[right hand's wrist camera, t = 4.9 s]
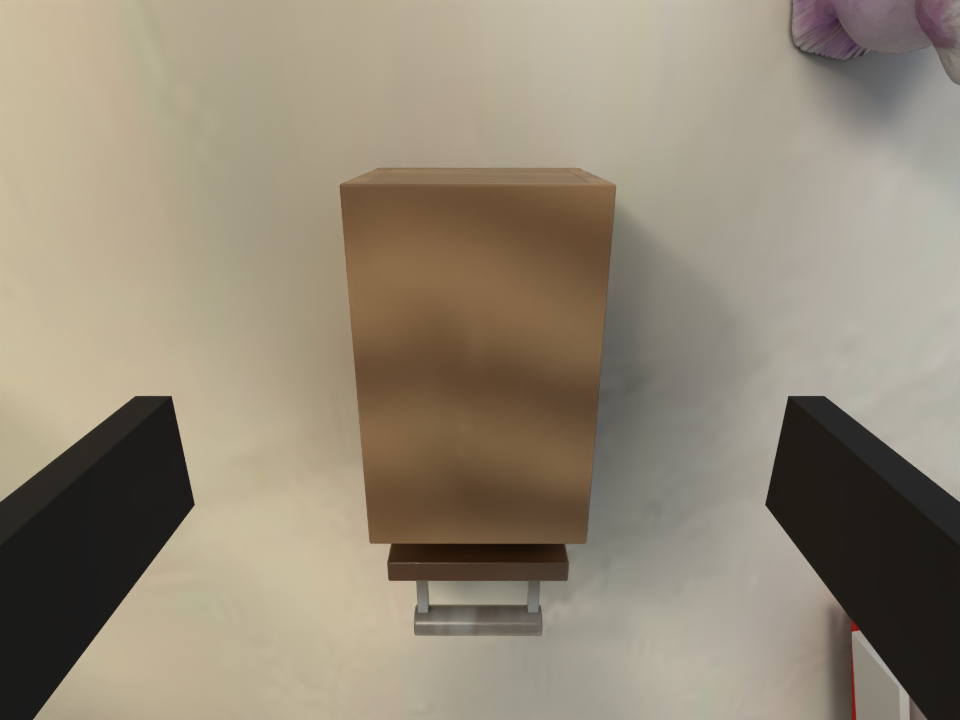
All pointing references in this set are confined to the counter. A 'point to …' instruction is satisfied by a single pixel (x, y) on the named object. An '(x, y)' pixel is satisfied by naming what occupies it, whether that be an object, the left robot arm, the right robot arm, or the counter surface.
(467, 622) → the drawer
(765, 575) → the counter surface
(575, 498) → the cabinet
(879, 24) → the figurine
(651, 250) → the counter surface
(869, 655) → the toy
